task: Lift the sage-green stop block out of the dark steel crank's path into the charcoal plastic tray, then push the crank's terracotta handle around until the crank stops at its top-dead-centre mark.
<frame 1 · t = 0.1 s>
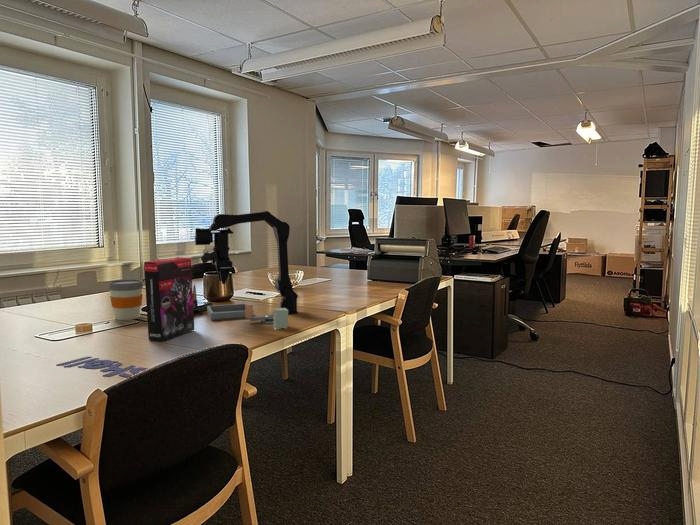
hand: (222, 282, 198), 15 cm above the table, fingers open, 9 cm apart
reusable coffee cup: (127, 318, 197), on the table
crank: (259, 312, 190), point 4 cm above the table, hinge at 0.0°
signage: (105, 369, 135), on the table
tray: (229, 315, 203), on the table
stop block: (280, 327, 183), on the table, touching crank base
crank base: (269, 322, 191), on the table
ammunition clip: (186, 313, 207), on the table
graphics card box: (171, 336, 170), on the table
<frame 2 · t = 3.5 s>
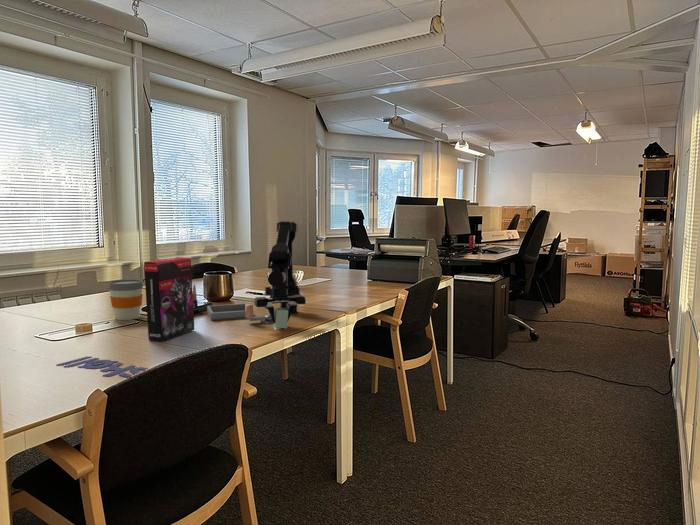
hand: (280, 322, 183), 2 cm above the table, fingers closed on stop block, 5 cm apart
stop block: (280, 327, 183), on the table, touching crank base, gripper
everything else where it was.
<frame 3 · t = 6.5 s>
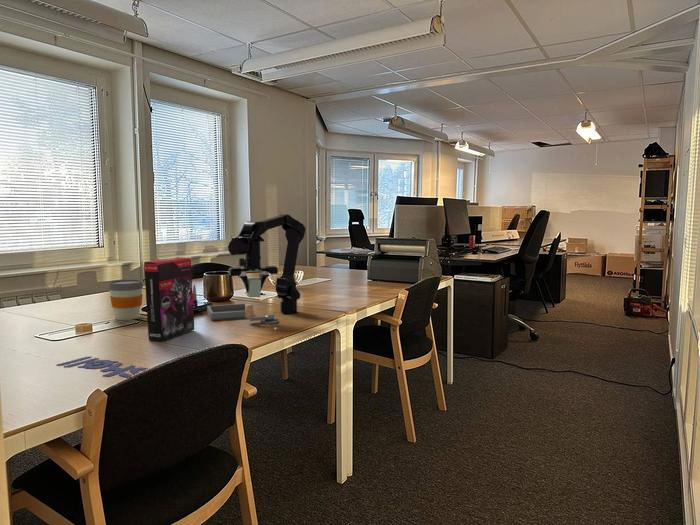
hand: (253, 292, 192), 12 cm above the table, fingers closed on stop block, 5 cm apart
stop block: (253, 296, 192), point 10 cm above the table, touching gripper
everything else where it was.
when the fingers open (3 cm above the table, at t = 9.5 s): stop block drops 1 cm, resting on tray.
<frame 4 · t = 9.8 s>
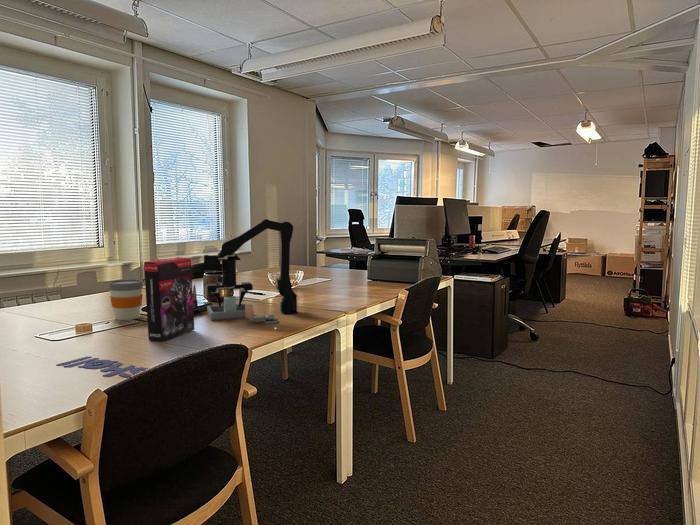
hand: (229, 307, 203), 3 cm above the table, fingers open, 8 cm apart
stop block: (230, 313, 203), point 1 cm above the table, touching tray
everything else where it was.
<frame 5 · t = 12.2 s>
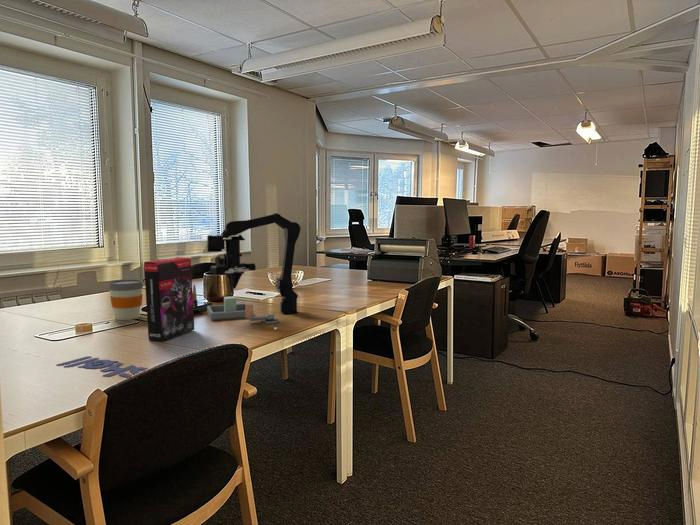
hand: (233, 288, 200), 12 cm above the table, fingers closed
nothing on the table moved.
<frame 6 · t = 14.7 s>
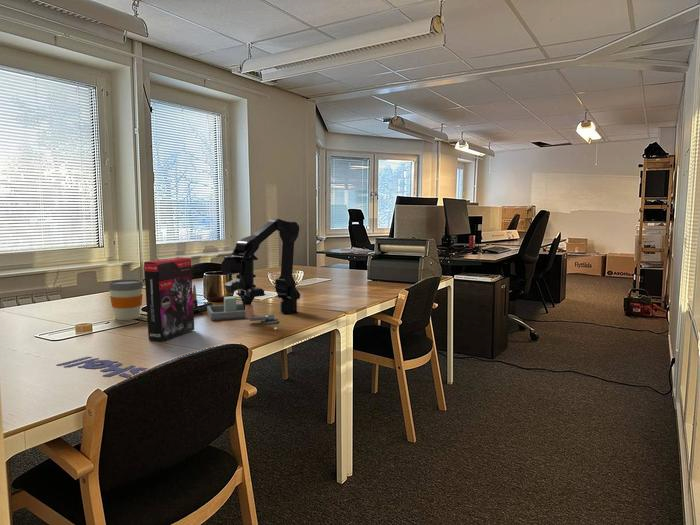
hand: (246, 310, 190), 5 cm above the table, fingers closed
crank: (259, 312, 189), point 4 cm above the table, hinge at 1.2°, touching gripper
everything else where it was.
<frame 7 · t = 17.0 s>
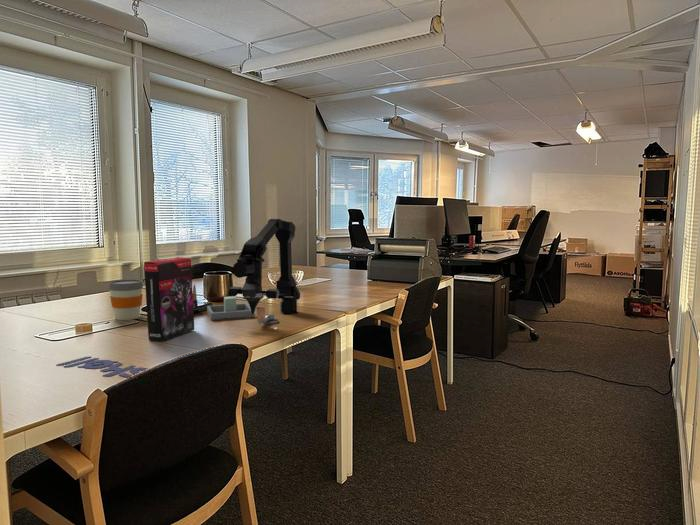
hand: (253, 314, 184), 5 cm above the table, fingers closed
crank: (265, 313, 187), point 4 cm above the table, hinge at 54.2°, touching gripper
everything else where it was.
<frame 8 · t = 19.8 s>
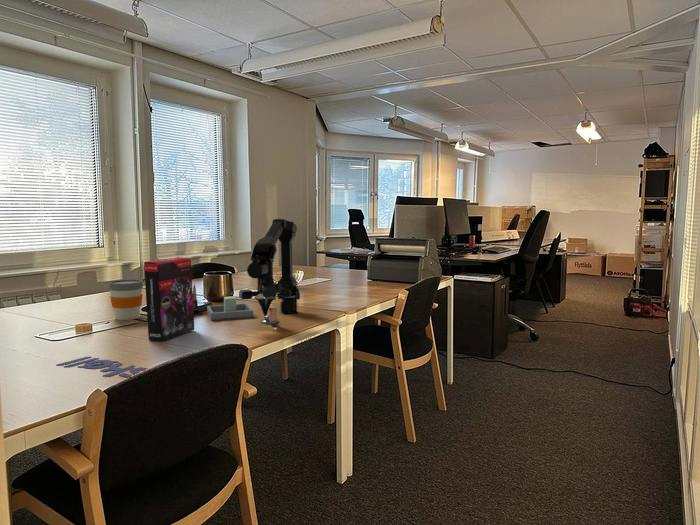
hand: (265, 315, 182), 5 cm above the table, fingers closed
crank: (271, 313, 187), point 4 cm above the table, hinge at 88.6°, touching gripper
everything else where it was.
at the end: stop block inside the target area on the tray (0.1 cm from its centre), point 0.6 cm above the tray's base; the gripper is holding nothing; crank at +89° (first picture: +0°) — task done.
